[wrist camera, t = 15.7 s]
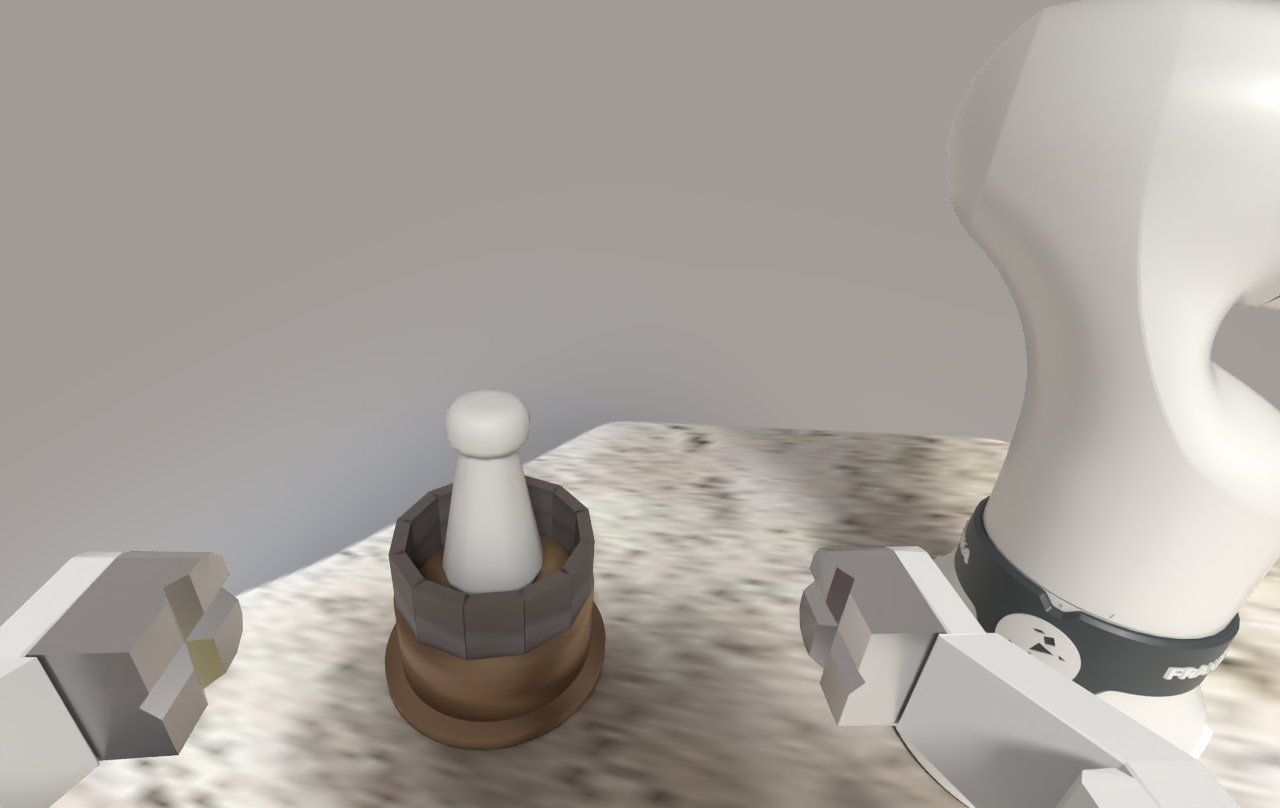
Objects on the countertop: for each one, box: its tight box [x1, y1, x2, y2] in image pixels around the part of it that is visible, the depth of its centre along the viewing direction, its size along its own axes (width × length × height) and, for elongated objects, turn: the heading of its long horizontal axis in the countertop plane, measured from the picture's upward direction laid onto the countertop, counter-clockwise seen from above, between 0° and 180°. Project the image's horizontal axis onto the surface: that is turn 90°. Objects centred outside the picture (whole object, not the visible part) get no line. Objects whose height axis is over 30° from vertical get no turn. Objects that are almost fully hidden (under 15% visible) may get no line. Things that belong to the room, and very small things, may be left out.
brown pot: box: [385, 475, 605, 750], centre depth 38 cm, size 14×14×10 cm
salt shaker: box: [442, 389, 543, 594], centre depth 34 cm, size 6×6×13 cm
